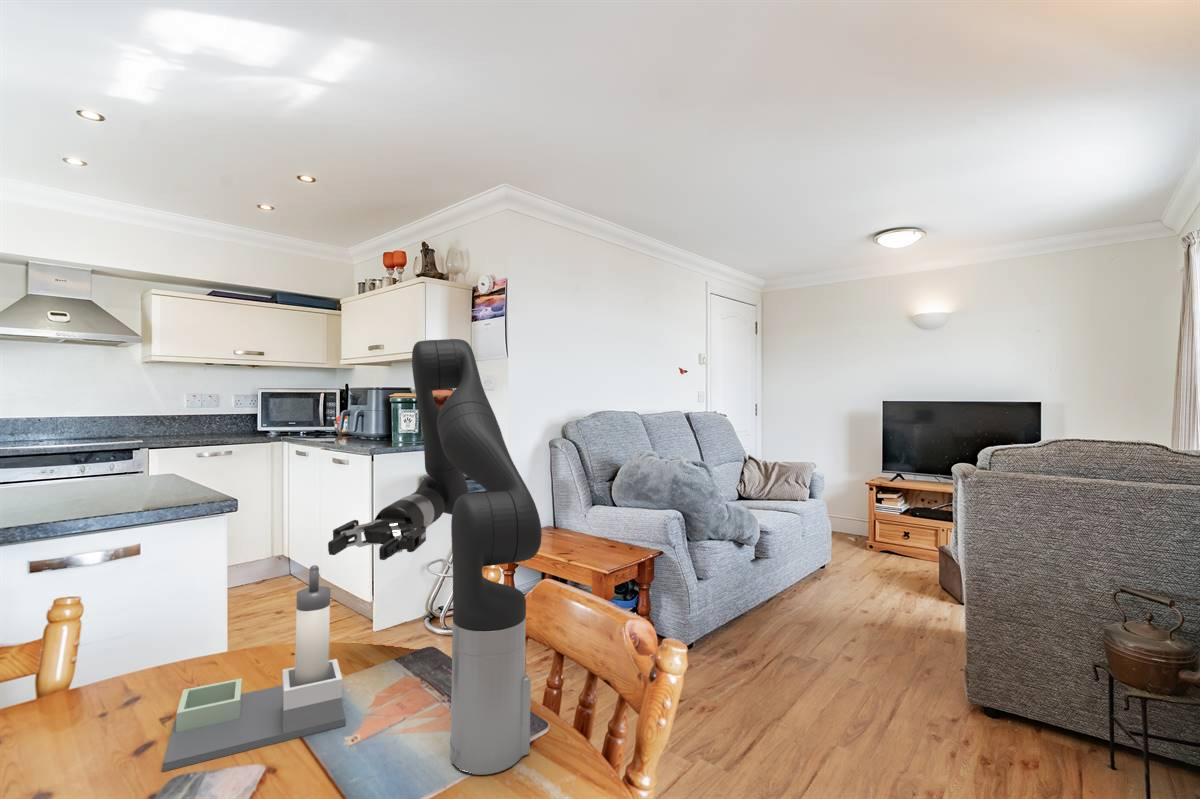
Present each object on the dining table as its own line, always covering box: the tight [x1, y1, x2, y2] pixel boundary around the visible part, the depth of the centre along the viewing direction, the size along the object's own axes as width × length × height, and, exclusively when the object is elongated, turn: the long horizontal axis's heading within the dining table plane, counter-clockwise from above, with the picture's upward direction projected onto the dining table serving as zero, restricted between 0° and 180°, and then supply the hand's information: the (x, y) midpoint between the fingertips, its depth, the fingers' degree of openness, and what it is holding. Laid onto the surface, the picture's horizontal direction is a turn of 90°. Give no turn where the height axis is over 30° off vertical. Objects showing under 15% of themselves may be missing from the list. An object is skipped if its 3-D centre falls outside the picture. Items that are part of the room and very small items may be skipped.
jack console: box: [162, 658, 347, 773], centre depth 79 cm, size 20×14×6 cm
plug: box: [294, 564, 331, 687], centre depth 79 cm, size 4×4×18 cm
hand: (356, 551), depth 88 cm, fingers open, 8 cm apart
